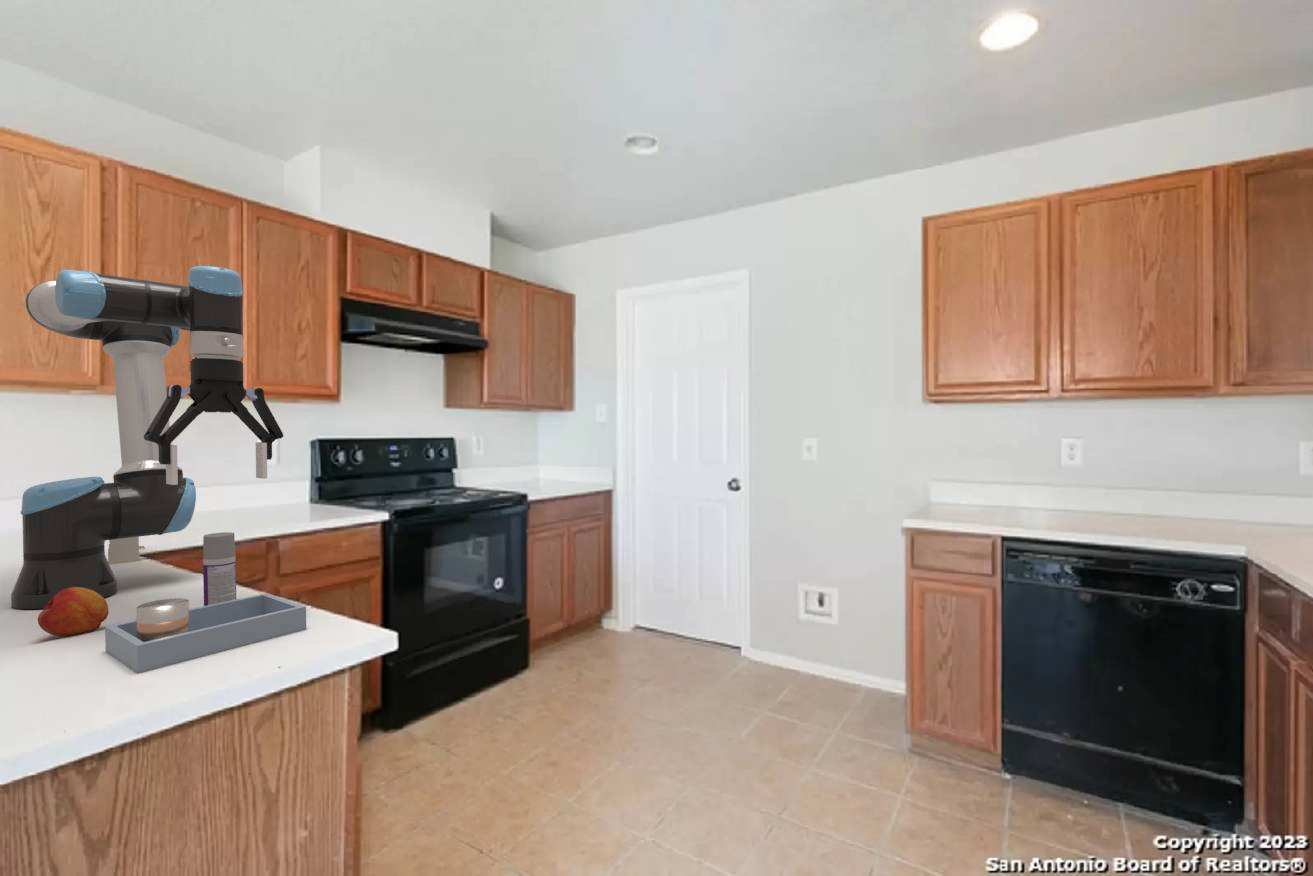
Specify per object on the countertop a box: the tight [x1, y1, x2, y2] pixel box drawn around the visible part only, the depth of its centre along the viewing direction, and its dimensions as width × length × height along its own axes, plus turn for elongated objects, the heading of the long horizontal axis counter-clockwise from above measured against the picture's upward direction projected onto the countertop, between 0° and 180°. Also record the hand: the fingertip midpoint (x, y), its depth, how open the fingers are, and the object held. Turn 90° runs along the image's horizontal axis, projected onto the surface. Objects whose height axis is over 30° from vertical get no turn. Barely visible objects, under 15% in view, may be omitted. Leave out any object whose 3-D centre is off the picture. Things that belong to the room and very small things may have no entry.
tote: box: [104, 592, 307, 674], centre depth 98 cm, size 14×22×4 cm, turn 145°
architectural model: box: [107, 537, 146, 566], centre depth 156 cm, size 3×7×7 cm, turn 134°
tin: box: [136, 597, 190, 642], centre depth 93 cm, size 6×6×7 cm
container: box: [202, 531, 237, 606], centre depth 110 cm, size 5×5×15 cm
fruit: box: [37, 587, 109, 638], centre depth 102 cm, size 8×8×8 cm
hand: (219, 481), depth 109 cm, fingers open, 13 cm apart
